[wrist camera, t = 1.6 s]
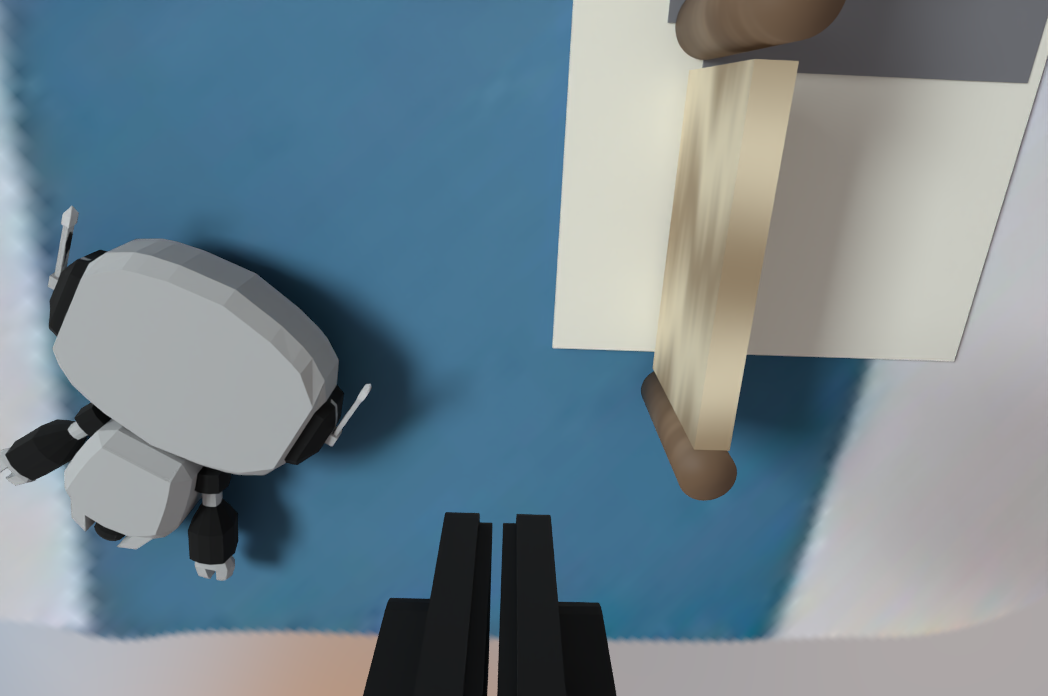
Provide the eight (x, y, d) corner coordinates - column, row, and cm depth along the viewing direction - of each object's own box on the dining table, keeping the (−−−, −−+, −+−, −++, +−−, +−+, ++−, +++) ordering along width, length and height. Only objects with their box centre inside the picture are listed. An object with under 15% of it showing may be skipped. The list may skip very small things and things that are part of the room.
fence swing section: (678, 69, 24) (740, 58, 17) (731, 72, 24) (813, 61, 17) (638, 408, 29) (674, 499, 22) (682, 410, 29) (731, 501, 22)
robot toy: (256, 550, 34) (401, 338, 28) (216, 619, 29) (375, 387, 24) (26, 432, 31) (135, 173, 25) (-55, 490, 27) (56, 196, 21)
